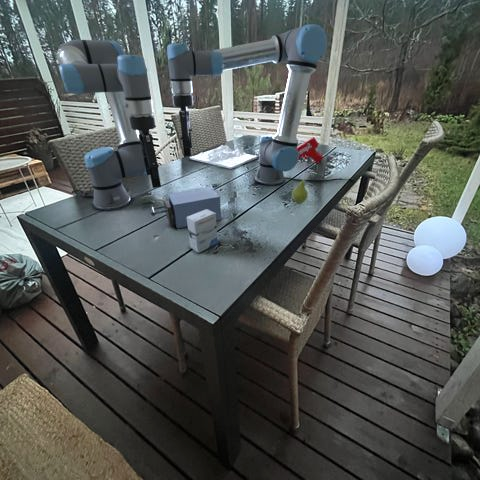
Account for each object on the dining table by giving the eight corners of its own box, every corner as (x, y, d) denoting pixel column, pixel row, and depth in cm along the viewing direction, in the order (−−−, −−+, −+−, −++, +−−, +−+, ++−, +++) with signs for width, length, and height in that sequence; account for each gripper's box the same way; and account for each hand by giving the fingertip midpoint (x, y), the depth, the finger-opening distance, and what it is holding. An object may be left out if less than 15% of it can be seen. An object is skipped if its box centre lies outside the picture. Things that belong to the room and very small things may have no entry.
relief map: (231, 168, 161) (231, 160, 158) (189, 159, 179) (189, 151, 176) (257, 158, 179) (257, 150, 176) (217, 150, 197) (216, 142, 194)
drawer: (154, 229, 100) (150, 210, 96) (151, 218, 107) (147, 200, 103) (212, 218, 107) (211, 199, 103) (205, 208, 115) (203, 190, 110)
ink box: (209, 237, 96) (206, 207, 90) (218, 243, 93) (216, 212, 87) (189, 247, 91) (185, 216, 85) (198, 253, 88) (195, 221, 82)
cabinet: (177, 228, 103) (173, 204, 97) (171, 216, 111) (167, 193, 106) (221, 219, 108) (220, 196, 103) (212, 208, 117) (211, 186, 111)
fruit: (288, 200, 123) (290, 174, 116) (302, 197, 125) (305, 172, 119) (296, 206, 118) (299, 179, 111) (310, 203, 120) (314, 177, 114)
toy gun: (326, 157, 168) (314, 136, 164) (326, 159, 164) (313, 137, 160) (301, 172, 178) (289, 153, 174) (300, 174, 174) (287, 154, 170)
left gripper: (125, 110, 93) (138, 171, 104) (132, 122, 73) (147, 195, 85) (148, 109, 95) (158, 168, 107) (160, 120, 76) (171, 191, 87)
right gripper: (174, 91, 112) (180, 144, 123) (169, 97, 91) (177, 160, 102) (193, 91, 113) (197, 144, 124) (191, 97, 92) (197, 160, 103)
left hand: (153, 180), depth 96 cm, fingers open, 13 cm apart
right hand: (188, 152), depth 113 cm, fingers open, 13 cm apart
